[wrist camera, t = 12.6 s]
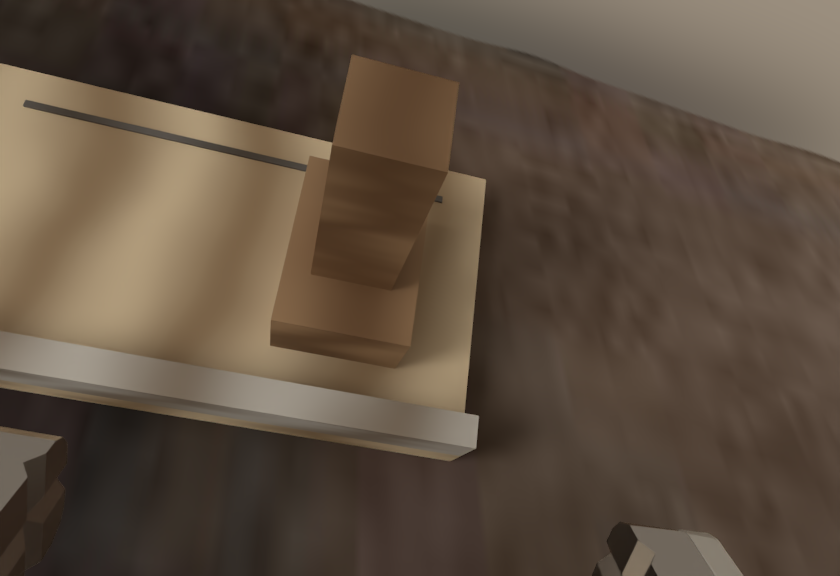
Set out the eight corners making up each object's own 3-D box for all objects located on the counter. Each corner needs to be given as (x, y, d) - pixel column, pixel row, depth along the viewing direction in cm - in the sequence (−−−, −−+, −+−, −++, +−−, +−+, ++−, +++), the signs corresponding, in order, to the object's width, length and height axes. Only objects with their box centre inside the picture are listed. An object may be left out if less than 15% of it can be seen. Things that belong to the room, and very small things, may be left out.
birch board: (-141, 364, 22) (-207, 333, 19) (3, 84, 28) (-30, 24, 25) (450, 461, 26) (476, 448, 23) (476, 195, 31) (500, 155, 28)
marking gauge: (270, 345, 24) (274, 204, 15) (307, 183, 28) (332, -24, 18) (394, 368, 25) (478, 249, 15) (417, 208, 28) (499, 23, 18)
